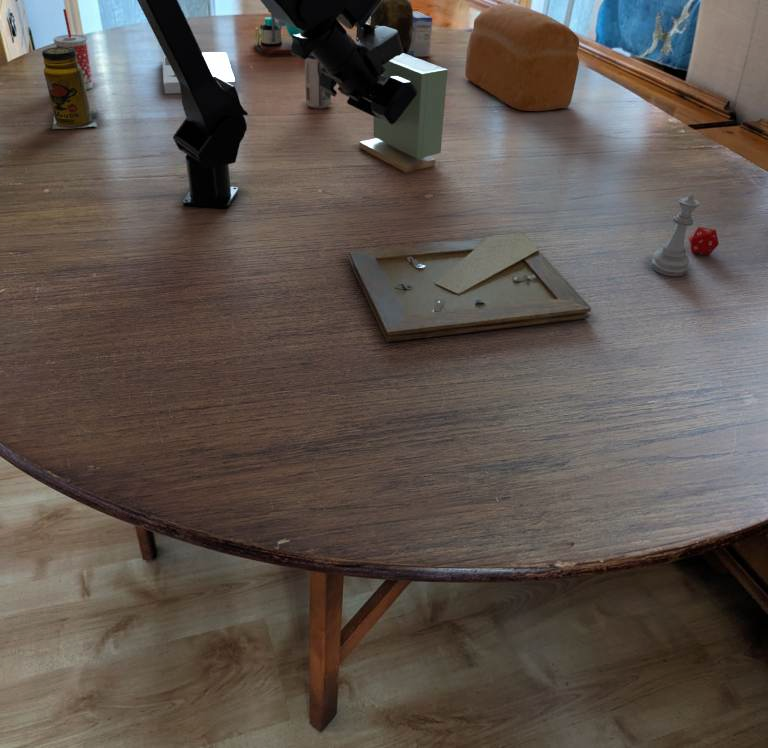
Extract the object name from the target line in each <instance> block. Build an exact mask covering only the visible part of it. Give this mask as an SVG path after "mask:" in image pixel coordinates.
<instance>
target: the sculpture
mask: <svg viewBox="0 0 768 748" xmlns="http://www.w3.org/2000/svg"><path fill="white" fill-rule="evenodd" d="M413 11H414V9H413V5H412V3H411V1H410V0H383V1H382V2H381V3H380V5H379V6H378V7H377V9H376V10H375V11H374V13H373V14H372V15H371V17H370V23H369V24H370V25H371V26H372V27H373V28H374V29H375V26H376V25H377V26H386V27H389V28H392V29H394V30H397V31H398V34H399V38H400V41H401V45H402V49H403V53H404V54H407V53H408V51H409V49H410V46H411V42H412V30H413ZM407 55H408V54H407Z"/></svg>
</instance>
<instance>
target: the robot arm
mask: <svg viewBox="0 0 768 748" xmlns="http://www.w3.org/2000/svg"><path fill="white" fill-rule="evenodd" d="M136 1H137V3H138V5H139V7H140V9H141V10H142V13H143V15H144V17H145V18H146V20H147V23H148V24H149V26H150V28H151V30H152V33H153V34H154V37H155V39H156V40H157V42H158V44H159V46H160V48H161V50H162V52H163V54H165V56H166V58H167V60H168V62H169V64H170V66H171V68H172V70H173V72H174V74H175V76H176V78H177V80H178V81H179V84H180V89H181V93H180V98H181V106H182V108H183V111H184V115H185V117H186V118H185V119H184V120H183V122H182V123H181V125H180V126H179V127H178V128H177V130H176V131H175V132H174V134H173V136H172V139H173V141H174V143H175V146H176V147H177V149H178V150H179V151H180V152H183V153H184V154H186V155H185V163H186V164H185V165H186V170H187V171H186V172H187V180H188V186H189V192H188V193H187V194H186V196H185V197H184V199H182V205H183V206H191V207H202V208H203V207H205V208H217V209H218V208H219V209H228V208H229V207H230V205H231V204H232V202H233V201H234V199H235V197H236V196H237V194H238V193H239V187H236V186H231V178H230V166H229V165H231V164H232V165H233V164H235V163H236V162H237V157H238V154H239V149H240V146H241V143H242V141H243V139H244V137H245V134H246V132H247V131H248V124H247V121H246V118H245V116H248V114H249V113H248V112H247V111H246V110H245V109H244V107H243V106H242V104H241V100H240V98H239V93H238V91H237V88H236V89H235V87H234V86H232V85H230V84H229V83H227V82H225V81H223V80H221V79H220V78H218V77H216V76H214V77H213V75H212V73H211V71H210V69H209V67H208V65H207V62H206V60H205V58H204V56H203V54H202V53H203V52H202V49H201V47H200V45H199V43H198V41H197V39H196V36H195V35H194V32H193V30H192V28H191V26H190V23H189V22H188V20H187V18H186V15H185V13H184V11H183V9H182V7H181V5H180V3H179V0H136ZM259 1H260V2H261V3H262V5H263V6H264V7H265V8H266V9H267V12H268V11H269V12H268V13H269V14H270V15H271V14H272V16H273V17H274V18H275V20H277V22H278V21H280V22H282V23H285V24H287V25H290V26H292V27H295V28H297V29H300V30H302V32H301V33H300V34H298V35H292V37H291V38H292V45H291V53H292V54H293V55H295V56H296V57H297V58H299V59H302V60H305V59H307V58H308V56H309V55H310V54H312V55H313V56H314V57H315V58H316V59H317V61H318V62H319V63H320V64H321V65H322V66H323V69H322V72H323V73H322V74H321V75H320V77H319V85H320V86H321V88H322V89H323V90H324V91H325V92H326V93H328V94H330V95H331V97H334V98H335V97H336V96H337V95H338V92H339V93H340V94H342V95H344V96H346V97H348V98H347V101H346V103H347V105H349V106H351V107H352V108H355V109H357V110H359V111H361V112H362V113H366V114H367V115H368V116H369V115H370V116H372V117H373V118H374V117H376V118H379V119H381V120H383V121H385V122H387V123H389V124H394V123H395V122H396V121H397V120H398V118H399V117H400V116H401V115H402V113H403V112H404V111H405V109H406V108H407V107H408V105H409V104H410V103H411V101H412V100H413V99H414V98H415V96H416V95H417V89H416V88H415V87H414V85H413V84H412V83H411V82H410V81H408V80H405V79H403V78H401V77H398V76H393V77H389V79H388V78H387V77H384V76H382V74H383V73H384V71H385V68H384V67H383V66H382V65H384V64H386V63H387V62H389V61H390V60H392V59H393V58H394V57H396V56H399V55H401V54H402V53H403V49H402V45H401V41H400V38H399V34H398V31H397V30H394V29H392V28H389V27H386V26H377V25H376V26H375V29H374V28H373V27H372V26H371V25H370V23H368V21H369V19H371V15H372V14H373V13H374V11H375V10H376V9H377V7H378V6H379V5H380V3H381V2H382V1H383V0H259ZM343 26H344V27H343ZM354 27H355V28H356V34H355V35H356V36H355V40H356V41H355V40H354V39H353V38H352V36H351V35H350V34H349V33H348V31H347V30H346V28H347V29H349V30H352V29H353V28H354ZM337 85H338V88H337V90H338V92H337V90H336V89H335V87H336V86H337Z"/></svg>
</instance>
